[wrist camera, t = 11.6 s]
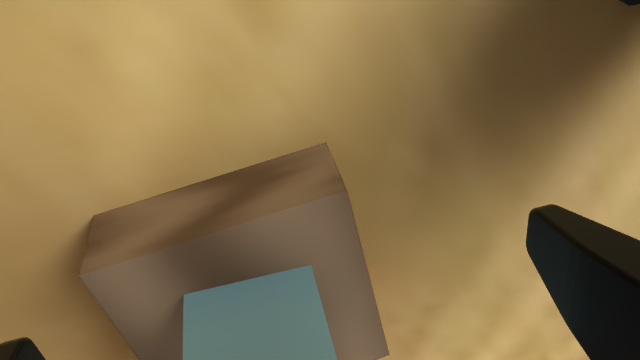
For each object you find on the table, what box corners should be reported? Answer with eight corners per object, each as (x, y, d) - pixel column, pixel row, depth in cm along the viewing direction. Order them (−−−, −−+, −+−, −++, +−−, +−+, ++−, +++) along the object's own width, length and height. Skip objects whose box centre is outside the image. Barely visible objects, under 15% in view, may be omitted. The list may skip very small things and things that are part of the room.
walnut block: (323, 137, 22) (346, 190, 19) (366, 293, 28) (389, 354, 25) (95, 209, 22) (78, 276, 19) (185, 353, 28) (184, 422, 24)
